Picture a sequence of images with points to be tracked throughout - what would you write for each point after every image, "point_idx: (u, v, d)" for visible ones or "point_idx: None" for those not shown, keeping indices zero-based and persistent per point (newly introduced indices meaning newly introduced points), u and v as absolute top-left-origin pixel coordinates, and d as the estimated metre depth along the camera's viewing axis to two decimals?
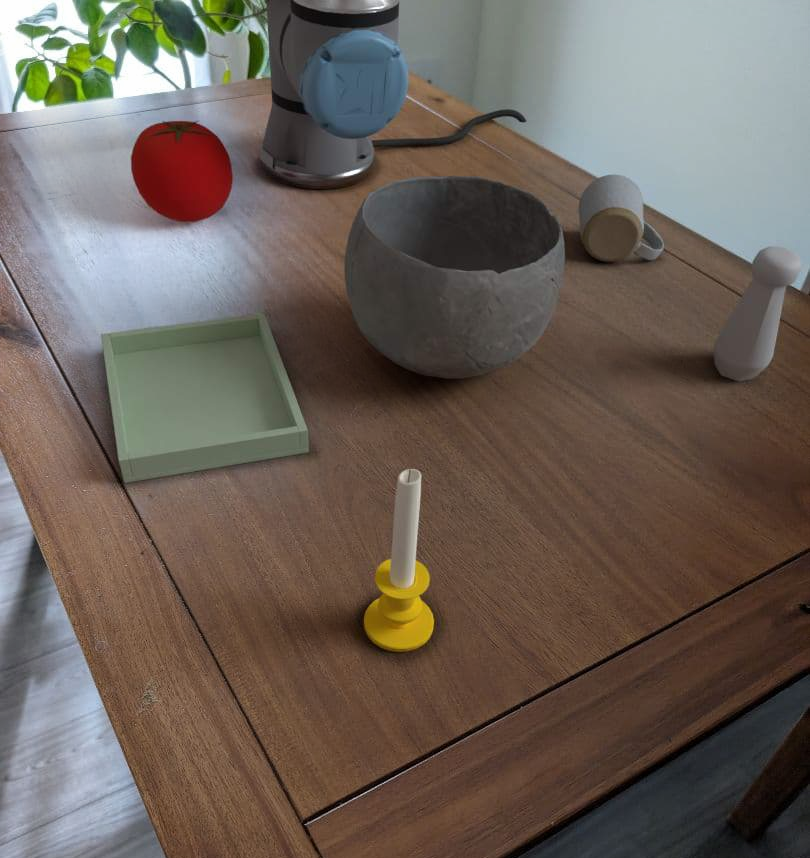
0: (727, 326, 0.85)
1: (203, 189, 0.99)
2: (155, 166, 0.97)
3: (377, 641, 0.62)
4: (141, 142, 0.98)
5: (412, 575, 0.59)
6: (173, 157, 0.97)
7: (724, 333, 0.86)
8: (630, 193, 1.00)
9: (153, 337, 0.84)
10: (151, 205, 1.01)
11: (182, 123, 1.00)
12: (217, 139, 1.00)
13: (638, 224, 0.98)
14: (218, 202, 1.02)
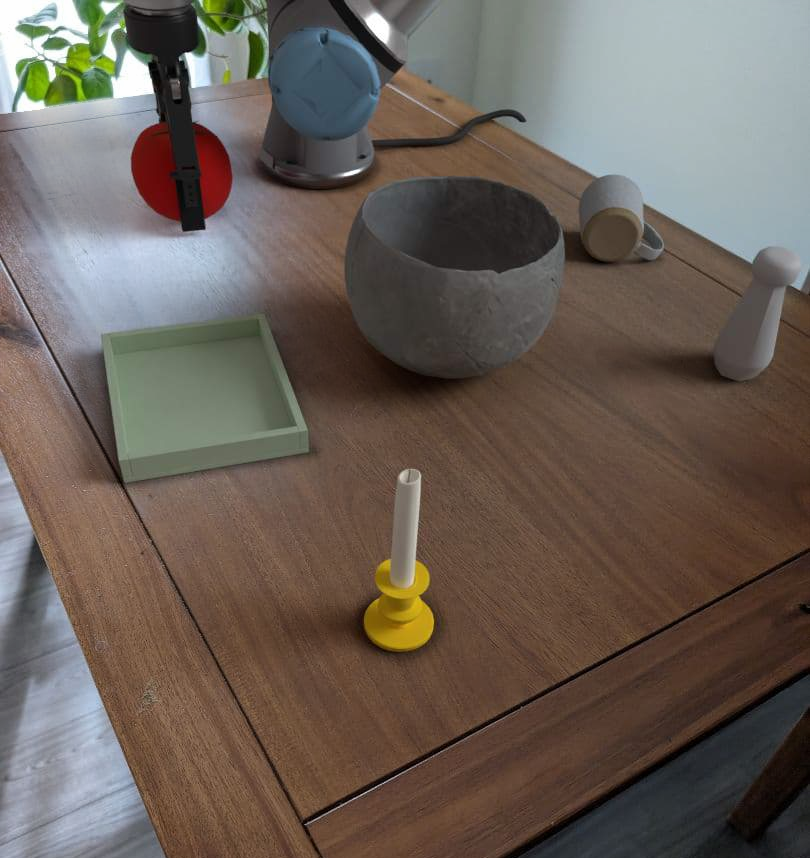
0: (727, 326, 0.85)
1: (203, 189, 0.99)
2: (155, 166, 0.97)
3: (377, 641, 0.62)
4: (141, 142, 0.98)
5: (412, 575, 0.59)
6: None
7: (724, 332, 0.86)
8: (630, 193, 1.00)
9: (153, 337, 0.84)
10: (151, 205, 1.01)
11: None
12: (217, 138, 1.00)
13: (638, 224, 0.98)
14: (218, 202, 1.02)
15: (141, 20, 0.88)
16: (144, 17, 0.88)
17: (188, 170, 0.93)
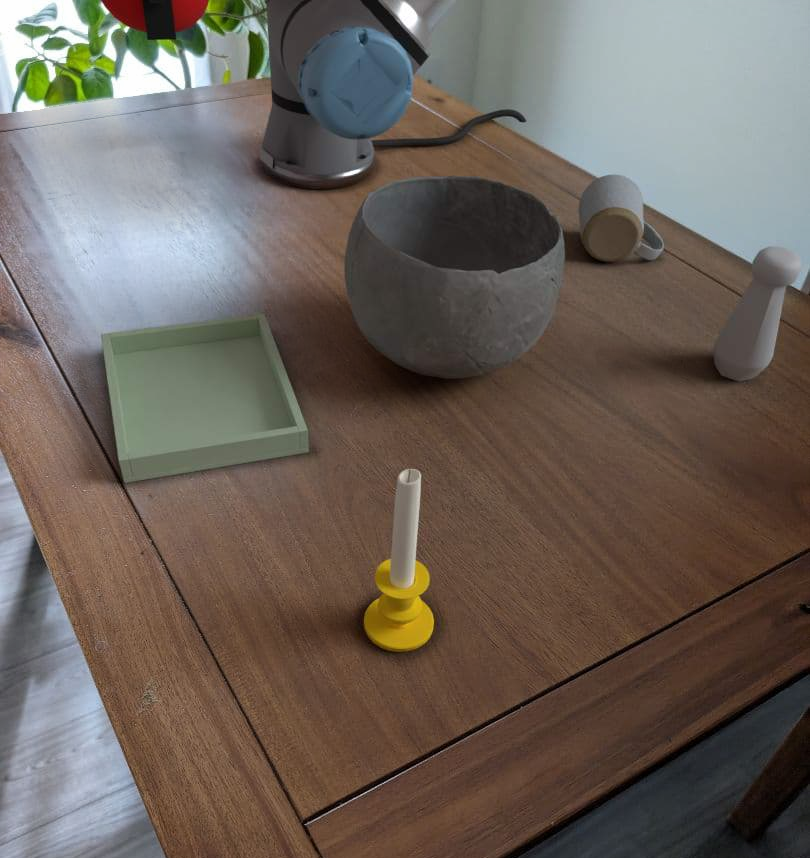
0: (727, 326, 0.85)
1: None
2: None
3: (377, 641, 0.62)
4: None
5: (412, 575, 0.59)
6: None
7: (724, 333, 0.86)
8: (630, 193, 1.00)
9: (153, 337, 0.84)
10: (110, 7, 0.83)
11: None
12: None
13: (638, 224, 0.98)
14: (193, 8, 0.84)
15: None
16: None
17: None
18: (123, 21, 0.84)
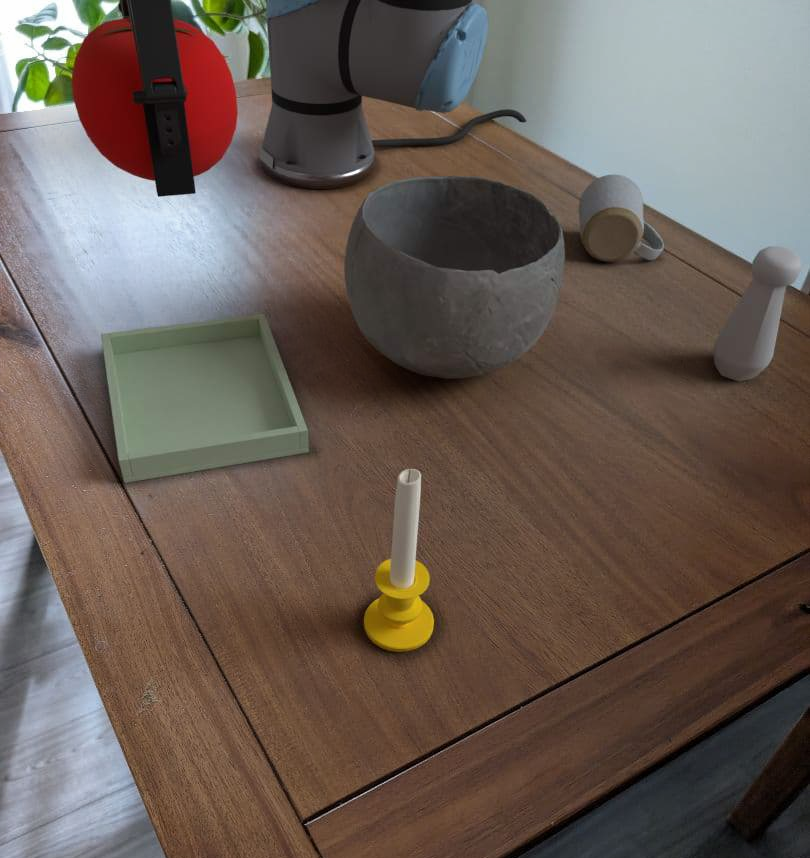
0: (727, 326, 0.85)
1: (189, 124, 0.60)
2: (109, 84, 0.58)
3: (377, 641, 0.62)
4: (86, 45, 0.59)
5: (412, 575, 0.59)
6: (138, 68, 0.58)
7: (724, 332, 0.86)
8: (630, 193, 1.00)
9: (153, 337, 0.84)
10: (105, 153, 0.62)
11: None
12: (213, 44, 0.61)
13: (638, 224, 0.98)
14: (215, 150, 0.63)
15: None
16: None
17: (164, 86, 0.55)
18: (122, 169, 0.63)
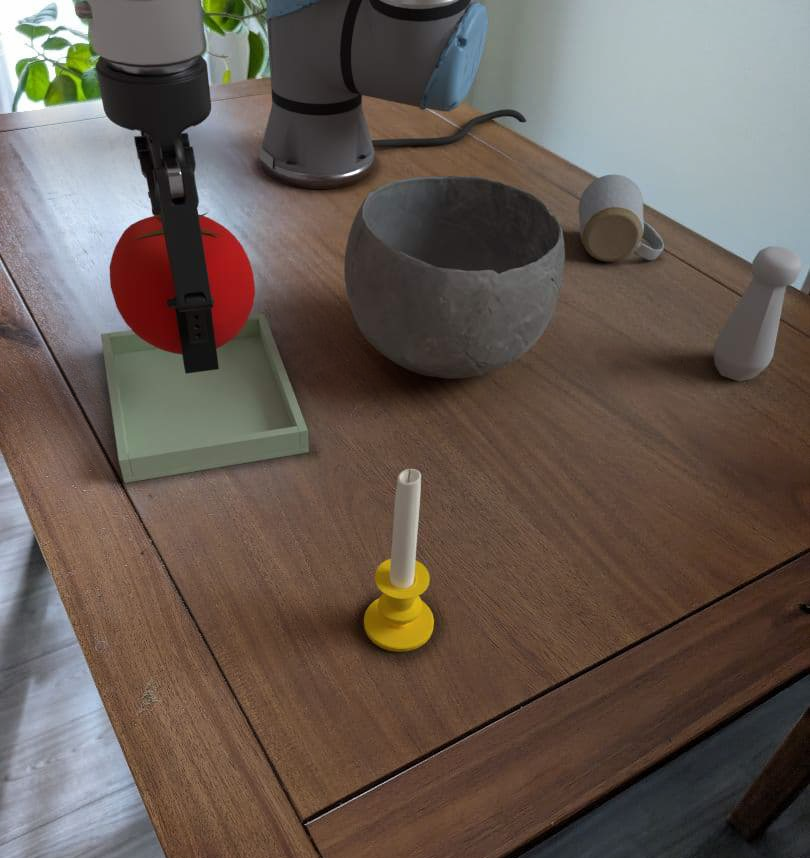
0: (727, 326, 0.85)
1: (214, 315, 0.68)
2: (144, 285, 0.66)
3: (377, 641, 0.62)
4: (124, 247, 0.68)
5: (412, 575, 0.59)
6: (170, 273, 0.66)
7: (724, 332, 0.86)
8: (630, 193, 1.00)
9: None
10: (139, 335, 0.70)
11: None
12: (234, 240, 0.70)
13: (638, 224, 0.98)
14: (235, 329, 0.71)
15: (123, 81, 0.57)
16: (127, 76, 0.57)
17: (194, 298, 0.63)
18: None
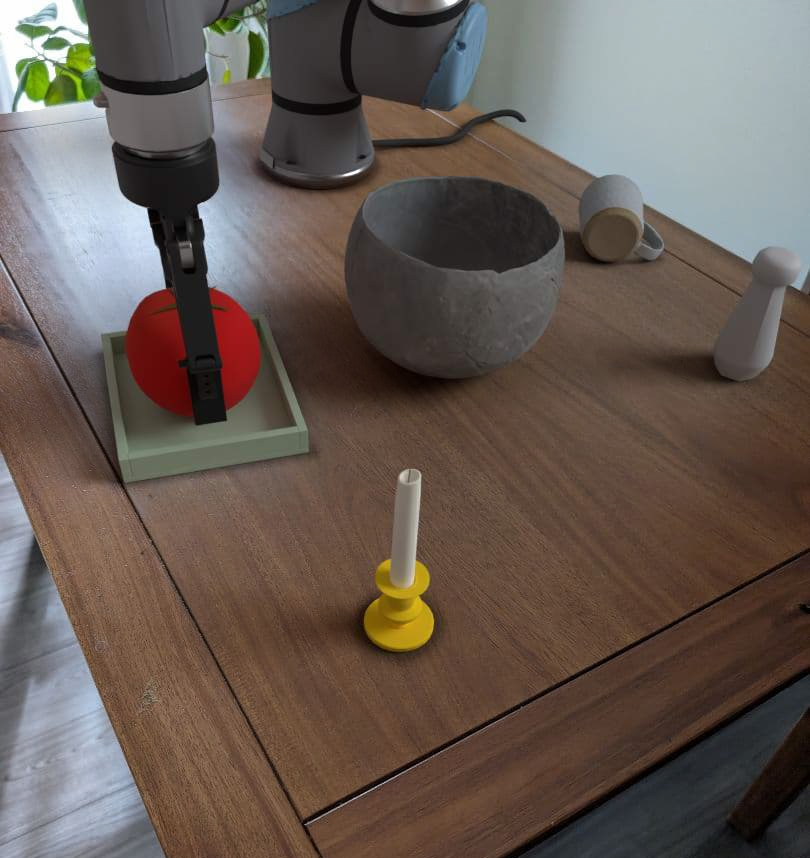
0: (727, 326, 0.85)
1: (223, 383, 0.73)
2: (158, 357, 0.71)
3: (377, 641, 0.62)
4: (139, 321, 0.72)
5: (412, 575, 0.59)
6: (182, 346, 0.71)
7: (724, 333, 0.86)
8: (630, 193, 1.00)
9: None
10: (152, 400, 0.75)
11: None
12: (242, 312, 0.75)
13: (638, 224, 0.98)
14: (242, 393, 0.76)
15: (138, 165, 0.61)
16: (141, 161, 0.61)
17: (204, 361, 0.66)
18: (166, 409, 0.76)
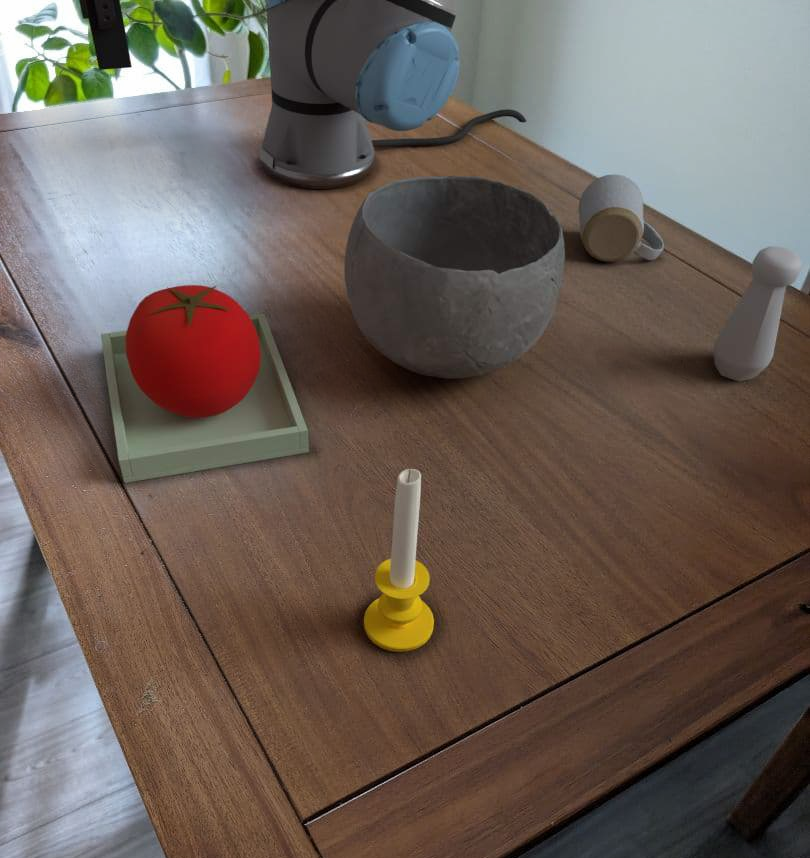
0: (727, 326, 0.85)
1: (223, 383, 0.73)
2: (158, 357, 0.71)
3: (377, 641, 0.62)
4: (139, 321, 0.72)
5: (412, 575, 0.59)
6: (182, 346, 0.71)
7: (724, 333, 0.86)
8: (630, 193, 1.00)
9: None
10: (152, 400, 0.75)
11: (194, 291, 0.75)
12: (242, 312, 0.75)
13: (638, 224, 0.98)
14: (242, 393, 0.76)
15: None
16: None
17: None
18: (166, 409, 0.76)
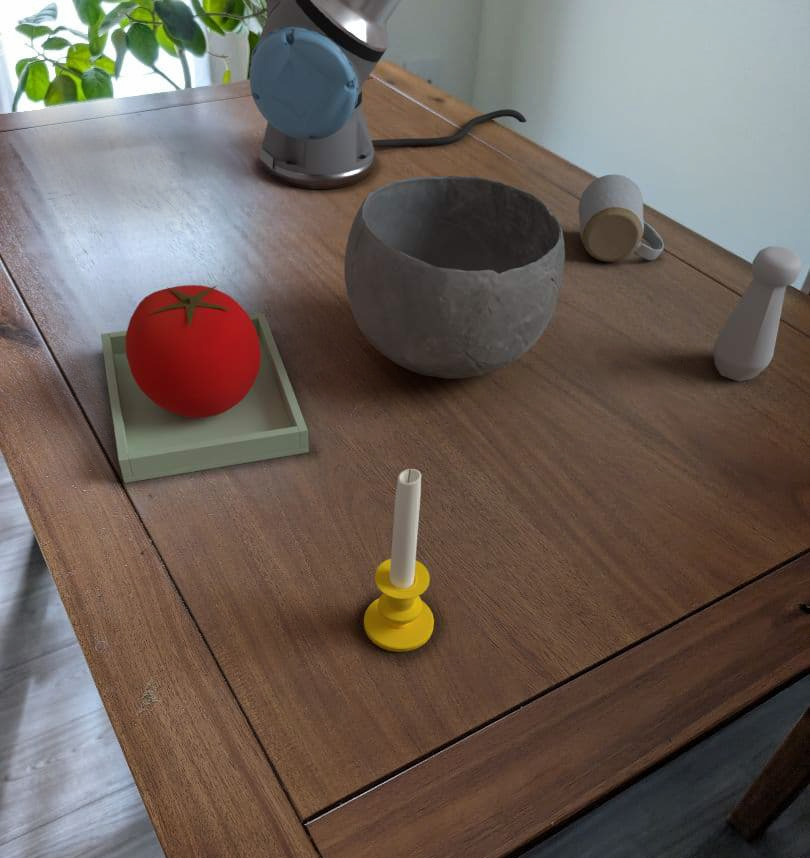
0: (727, 326, 0.85)
1: (223, 383, 0.73)
2: (158, 357, 0.71)
3: (377, 641, 0.62)
4: (139, 321, 0.72)
5: (412, 575, 0.59)
6: (182, 346, 0.71)
7: (724, 333, 0.86)
8: (630, 193, 1.00)
9: None
10: (152, 400, 0.75)
11: (194, 291, 0.75)
12: (242, 312, 0.75)
13: (638, 224, 0.98)
14: (242, 393, 0.76)
15: None
16: None
17: None
18: (166, 409, 0.76)
